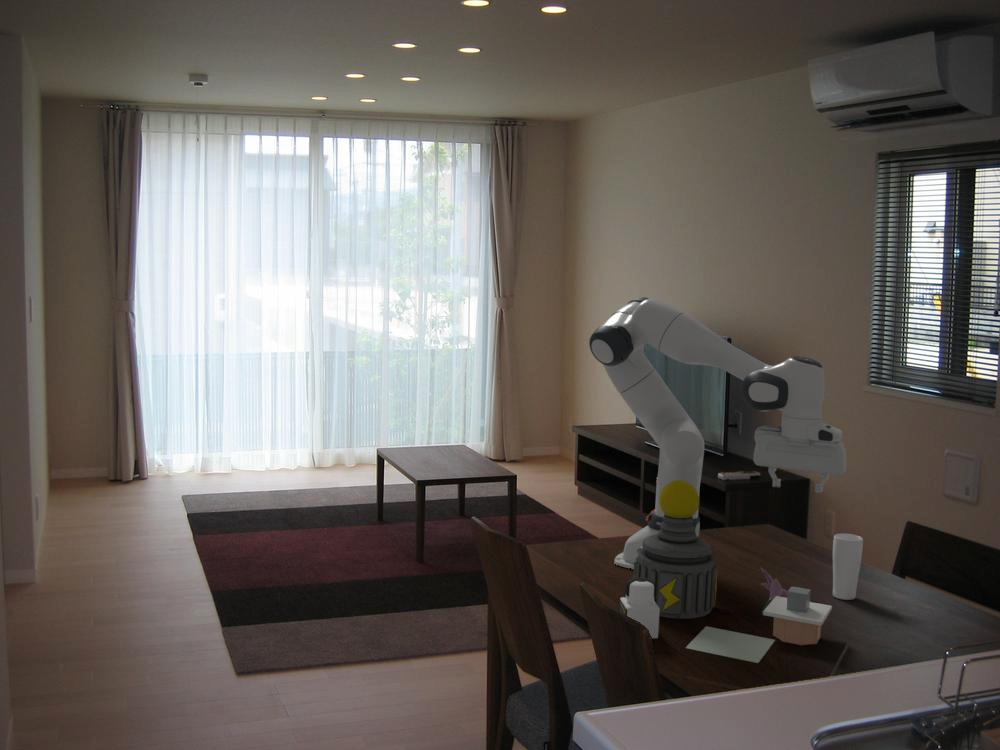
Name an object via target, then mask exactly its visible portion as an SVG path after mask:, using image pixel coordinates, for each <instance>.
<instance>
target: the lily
mask: <svg viewBox="0 0 1000 750" xmlns="http://www.w3.org/2000/svg"><path fill="white" fill-rule="evenodd" d="M759 569H760V570H761V572H762V574H763V575H764V576H765V578H766V581H767V582H761V583H760V585H761V586H763V587H764V588H765V589H766V590H768V591H769V599H768V600H767V601H766V603H765V605H764V606H763V608H762V610H761V613H760V614H762V615H763V611H764V610H765V609H766V607H767V606H768V605H769V603H770V602H771V601H772V600H773V599H774V598H775V597H776V596H779V597H785V598H787V595H788V590H786V589H784V588H782V585H781V583H780V581H779V580H778V579H777V578H774V579H773V577H772V576H771V574H769V573H768V572H767V571H766V570H765V569H764V568H762V566H760V567H759Z"/></svg>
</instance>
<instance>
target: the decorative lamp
mask: <svg viewBox="0 0 1000 750" xmlns="http://www.w3.org/2000/svg"><path fill="white" fill-rule="evenodd" d="M659 503H660V507H661V510H662V511H663V512H664V517H663V520H664V521H663V522H662V523H661V526H660V527H661V529H660V530H659V532H658V534H655V535H652V536H649V537H646V538H645V539H644V540H643V544H642V546H643V549H641V550H640V551H639V552H638V557H637V558H636V559H635V562H634V569H633V578H646V579H649V580H651V581H653V582H654V584H655V593H654V601H655V603H656V604H657V606H658V607H659V609H660V611H659V617H663V618H669V619H683V620H684V619H686V620H687V619H696V618H703V617H705V616H707V615H709V614H710V613H711V612H712V611H713V608H714V607H715V605H716V599H717V597H716V595H717V588H718V587H717V583H718V582H717V579H718V571H719V570H718V569H719V568H718V567H717V565H716V564H715V556H713V554H711V553H712V545H711V544H710V543H709V542H707V540H704V539H702V538H701V537H699V536H698V537H697V536H696V533H695V532H694V530H695V527H694V524H692V522H693V517H692V516H693V515H694V514H695V513H696V511H697V509H698V510H699V508H700V507H699V506H700V495H699V496H698V493H697V490H696V489H695V488H694V486H693V485H691V484H689V483H688V482H686V481H681V480H675V481H672V482H670V483H668V484H667V485H666V486H665V487H664V488H663V489H662V491H661V493H660V497H659Z"/></svg>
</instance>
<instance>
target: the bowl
mask: <svg viewBox="0 0 1000 750" xmlns="http://www.w3.org/2000/svg"><path fill="white" fill-rule="evenodd" d="M772 624H773V625H772V628H773V629H772V636H773V637H775V638H777V639H778V640H780V641H781V642H783V643H787V644H788V643H789V644H792V645H793V644H794V645H799V646H805V645H817V644H818V642H819V640H821V638H822V637H821V634H822V626H820V625H814V624H809V623H803V622H798V621H793V620H787V619H782V618H776V617H773V623H772Z"/></svg>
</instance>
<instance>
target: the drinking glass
mask: <svg viewBox="0 0 1000 750" xmlns="http://www.w3.org/2000/svg"><path fill="white" fill-rule="evenodd" d="M863 541H864V539H863V537H862V536H859V535H856V534H852V533H836V534H834V536H833V542H832V596H833V597H834V598H836V599H839V600H842V601H843V600H844V601H850V600H851V601H852V600H855V599H856V597H857V587H858V583H859V582H858V580H859V575H860V568H861V562H862V558H863V549H864V548H863V545H864V542H863Z"/></svg>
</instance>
